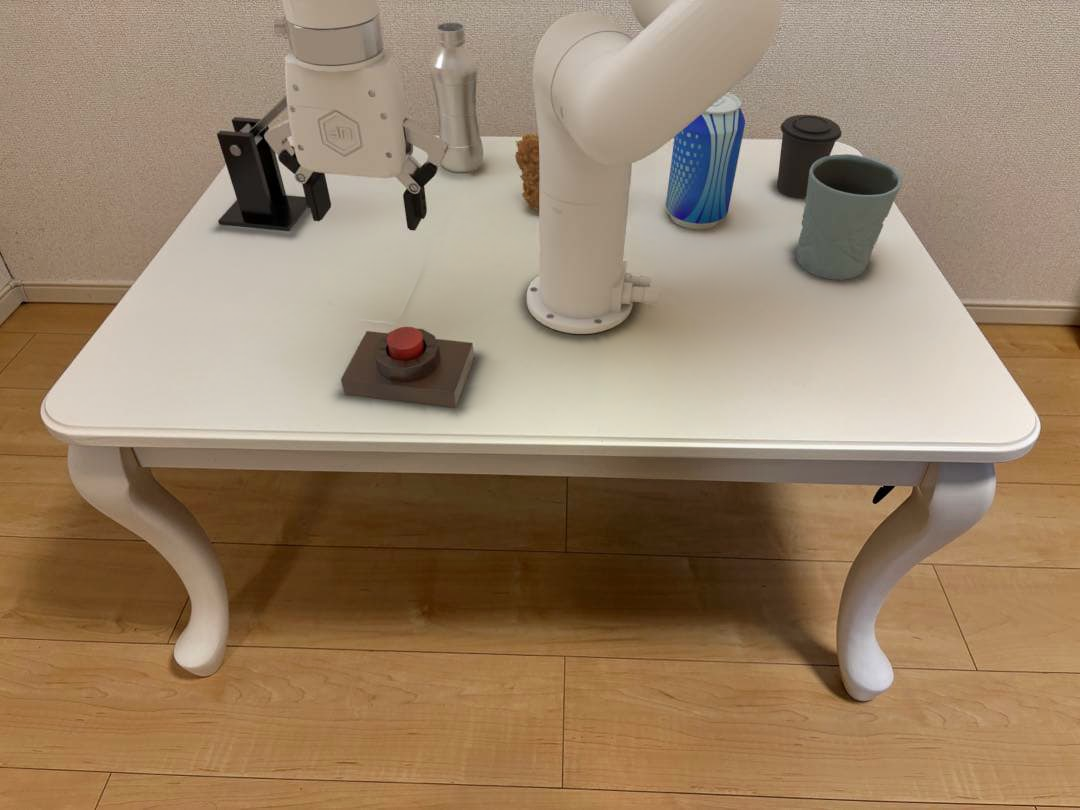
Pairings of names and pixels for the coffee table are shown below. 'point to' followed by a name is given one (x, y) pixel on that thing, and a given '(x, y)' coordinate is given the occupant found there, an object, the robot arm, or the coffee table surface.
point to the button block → (409, 371)
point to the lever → (265, 120)
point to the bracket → (256, 182)
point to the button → (405, 343)
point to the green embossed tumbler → (844, 214)
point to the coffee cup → (803, 150)
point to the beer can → (705, 165)
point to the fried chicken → (529, 168)
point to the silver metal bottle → (456, 99)
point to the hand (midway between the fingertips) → (369, 218)
